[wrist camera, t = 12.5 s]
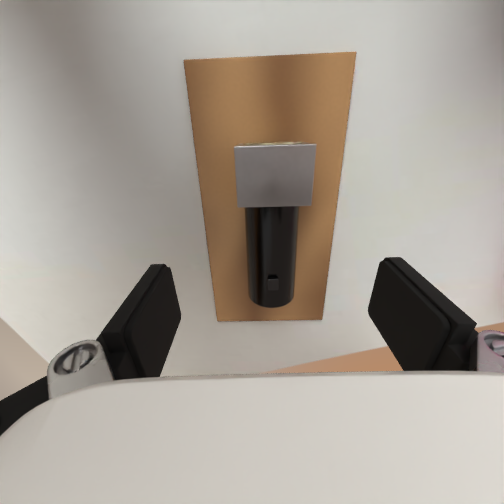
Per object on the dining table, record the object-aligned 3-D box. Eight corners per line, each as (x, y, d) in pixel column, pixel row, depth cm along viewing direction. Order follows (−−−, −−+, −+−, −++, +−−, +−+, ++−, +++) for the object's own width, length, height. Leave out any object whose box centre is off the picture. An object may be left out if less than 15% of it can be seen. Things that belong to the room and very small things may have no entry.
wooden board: (217, 318, 25) (217, 321, 25) (185, 61, 16) (183, 59, 15) (321, 317, 25) (322, 319, 25) (354, 53, 15) (356, 51, 15)
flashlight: (293, 285, 23) (302, 318, 19) (246, 286, 23) (243, 319, 19) (302, 140, 17) (317, 141, 13) (238, 142, 17) (233, 144, 13)
